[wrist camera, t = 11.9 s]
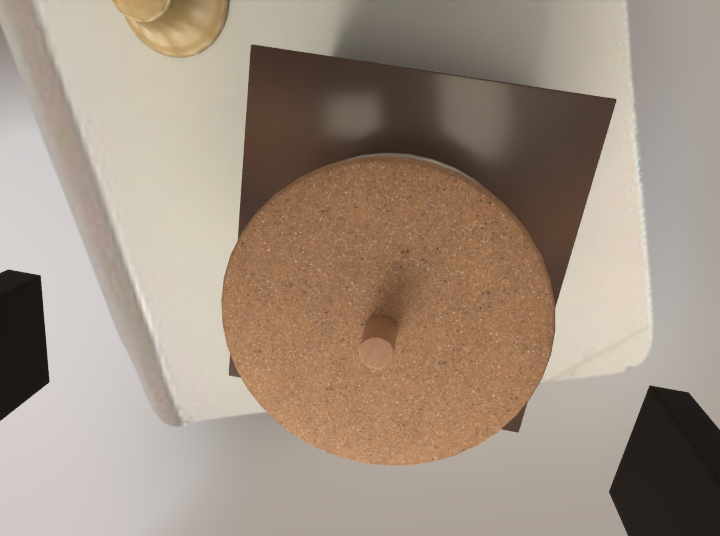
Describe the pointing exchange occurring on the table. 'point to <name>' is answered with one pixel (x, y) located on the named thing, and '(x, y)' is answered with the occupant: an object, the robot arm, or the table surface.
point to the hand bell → (175, 23)
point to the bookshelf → (426, 137)
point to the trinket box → (388, 310)
